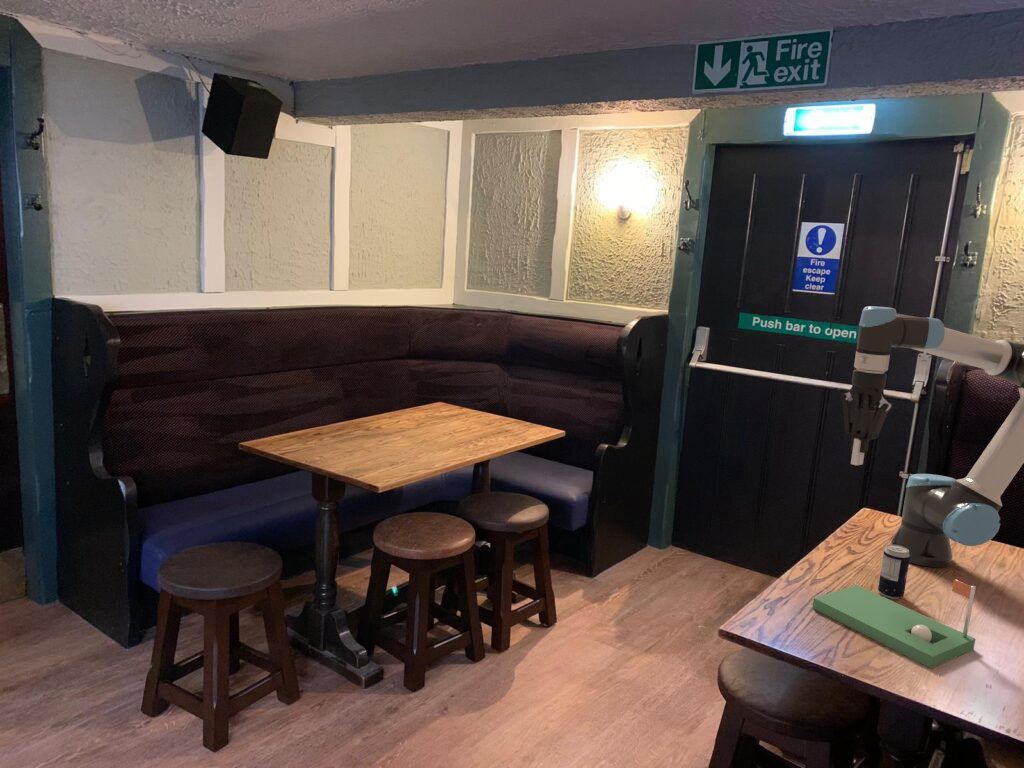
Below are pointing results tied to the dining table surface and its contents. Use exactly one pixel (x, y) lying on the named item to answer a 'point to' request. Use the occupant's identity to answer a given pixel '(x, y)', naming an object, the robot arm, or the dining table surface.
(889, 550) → the beverage can
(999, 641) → the dining table surface
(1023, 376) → the robot arm
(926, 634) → the ball
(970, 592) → the flag pin
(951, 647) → the putting mat
